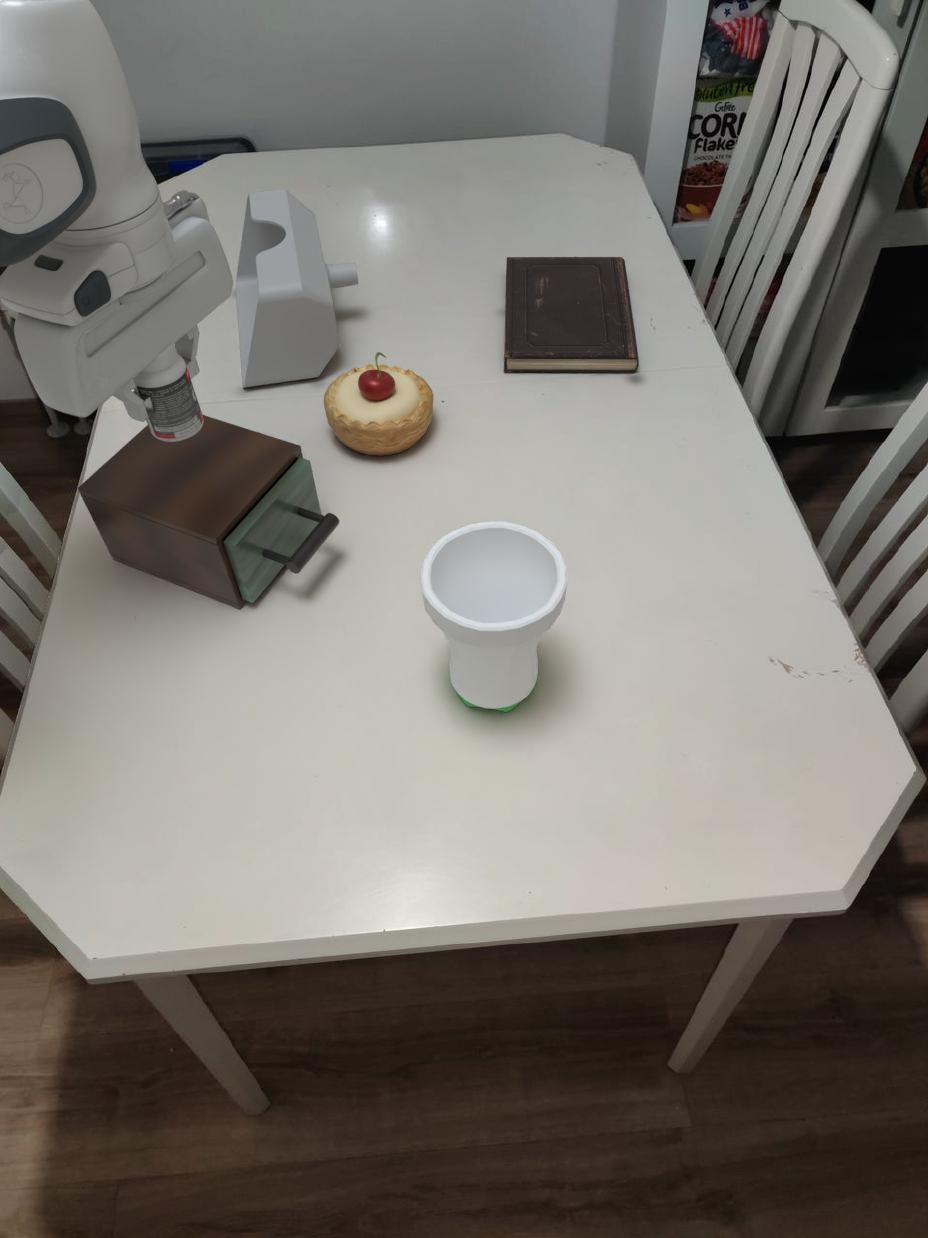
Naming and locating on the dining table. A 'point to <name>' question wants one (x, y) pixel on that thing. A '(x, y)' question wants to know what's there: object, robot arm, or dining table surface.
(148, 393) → the pill bottle
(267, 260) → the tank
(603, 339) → the hardcover book
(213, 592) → the cabinet
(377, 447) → the pastry
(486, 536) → the cup
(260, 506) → the drawer
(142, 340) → the robot arm
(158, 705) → the dining table surface
